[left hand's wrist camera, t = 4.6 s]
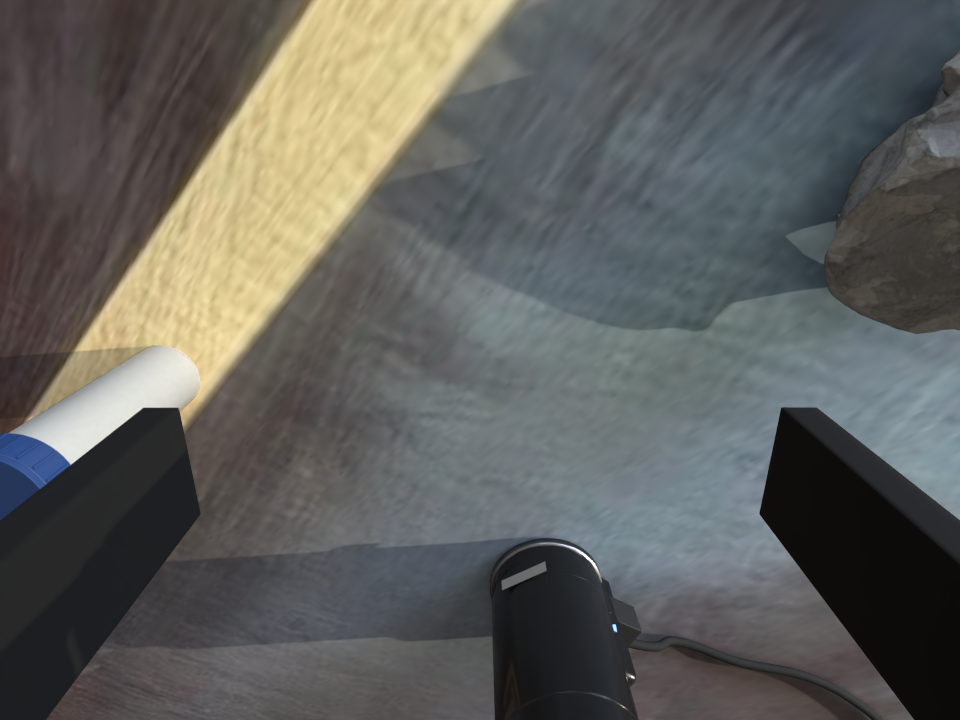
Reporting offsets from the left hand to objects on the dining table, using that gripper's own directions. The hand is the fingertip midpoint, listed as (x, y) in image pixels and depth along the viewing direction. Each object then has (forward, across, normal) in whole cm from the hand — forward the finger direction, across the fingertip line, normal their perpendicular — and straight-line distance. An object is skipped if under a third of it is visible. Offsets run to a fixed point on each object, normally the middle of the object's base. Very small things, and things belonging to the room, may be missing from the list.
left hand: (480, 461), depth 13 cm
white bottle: (+28, -23, -10) cm, 38 cm away
